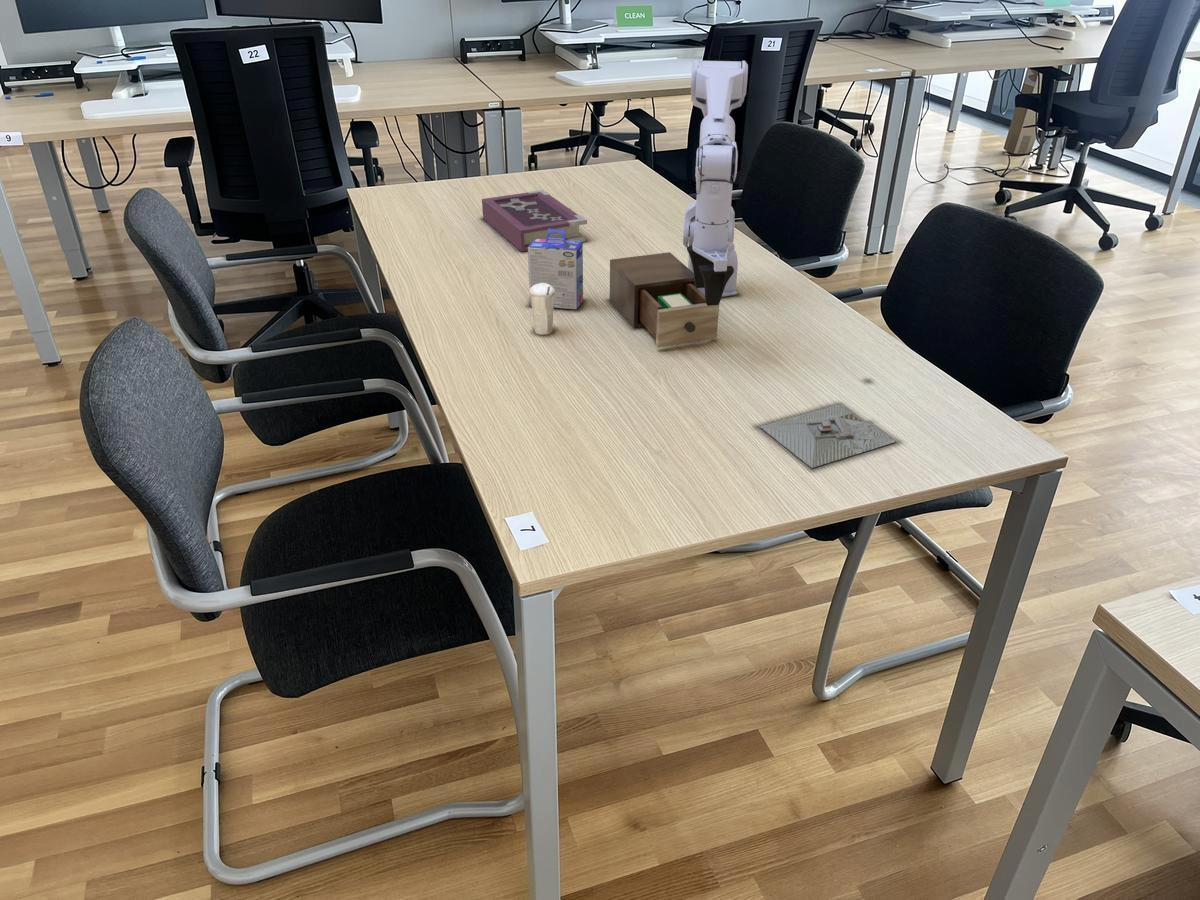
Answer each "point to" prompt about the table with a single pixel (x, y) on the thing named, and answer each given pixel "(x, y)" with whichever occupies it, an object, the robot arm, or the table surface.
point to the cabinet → (643, 280)
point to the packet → (673, 301)
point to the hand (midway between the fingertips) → (707, 295)
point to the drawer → (677, 315)
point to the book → (531, 218)
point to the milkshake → (542, 307)
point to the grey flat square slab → (826, 435)
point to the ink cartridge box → (558, 268)
